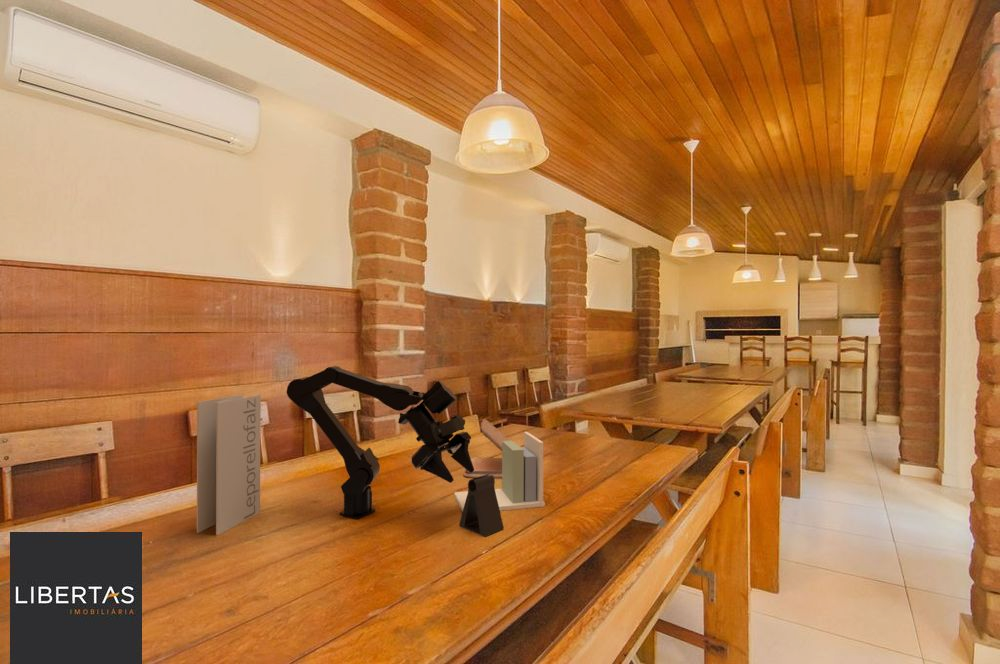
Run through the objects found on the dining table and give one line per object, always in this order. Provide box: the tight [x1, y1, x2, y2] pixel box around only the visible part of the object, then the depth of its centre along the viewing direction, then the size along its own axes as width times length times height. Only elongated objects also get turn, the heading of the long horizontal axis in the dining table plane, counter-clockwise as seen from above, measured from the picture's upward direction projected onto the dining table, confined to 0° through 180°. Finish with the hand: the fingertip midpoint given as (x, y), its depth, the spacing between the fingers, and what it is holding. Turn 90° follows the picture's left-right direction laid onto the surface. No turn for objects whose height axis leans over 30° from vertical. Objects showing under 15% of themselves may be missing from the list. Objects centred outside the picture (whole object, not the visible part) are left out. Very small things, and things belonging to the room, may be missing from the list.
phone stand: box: [458, 474, 505, 538], centre depth 115 cm, size 9×6×12 cm, turn 46°
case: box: [462, 418, 511, 479], centre depth 163 cm, size 20×21×16 cm
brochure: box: [196, 393, 262, 536], centre depth 117 cm, size 14×6×30 cm, turn 168°
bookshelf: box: [453, 431, 546, 512], centre depth 133 cm, size 22×14×17 cm, turn 105°
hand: (463, 476), depth 117 cm, fingers open, 9 cm apart
